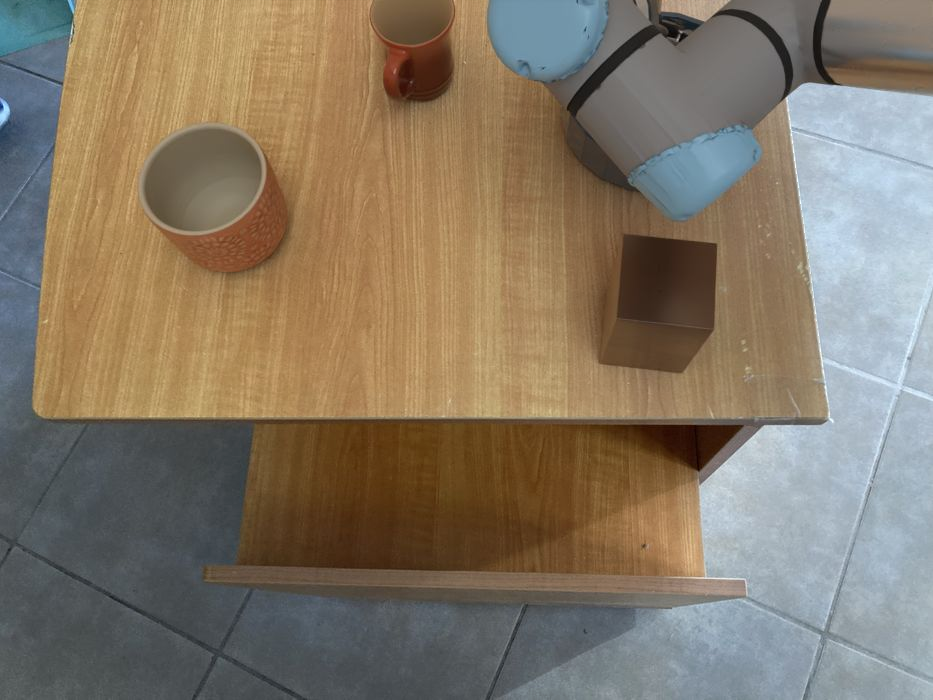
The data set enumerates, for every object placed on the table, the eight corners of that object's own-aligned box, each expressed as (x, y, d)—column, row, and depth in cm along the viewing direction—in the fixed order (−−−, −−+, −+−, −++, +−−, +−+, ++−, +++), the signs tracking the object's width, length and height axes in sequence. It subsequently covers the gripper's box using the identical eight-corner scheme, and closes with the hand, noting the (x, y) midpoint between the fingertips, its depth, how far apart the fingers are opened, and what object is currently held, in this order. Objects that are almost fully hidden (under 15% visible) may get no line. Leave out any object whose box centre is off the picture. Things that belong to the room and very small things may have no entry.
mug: (399, 39, 89) (387, -31, 79) (471, 57, 88) (466, -12, 78) (362, 123, 86) (344, 60, 76) (435, 143, 84) (427, 81, 75)
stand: (686, 298, 77) (717, 243, 66) (682, 373, 74) (714, 329, 63) (605, 289, 78) (623, 233, 66) (599, 363, 75) (616, 318, 64)
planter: (172, 282, 80) (123, 233, 70) (194, 179, 84) (150, 118, 74) (288, 288, 79) (256, 239, 69) (305, 183, 83) (276, 122, 73)
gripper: (492, 28, 62) (574, 32, 82) (674, 112, 59) (713, 94, 79) (527, -71, 59) (603, -42, 79) (723, 13, 55) (751, 21, 75)
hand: (658, 26), depth 79 cm, fingers closed on pestle, 3 cm apart
